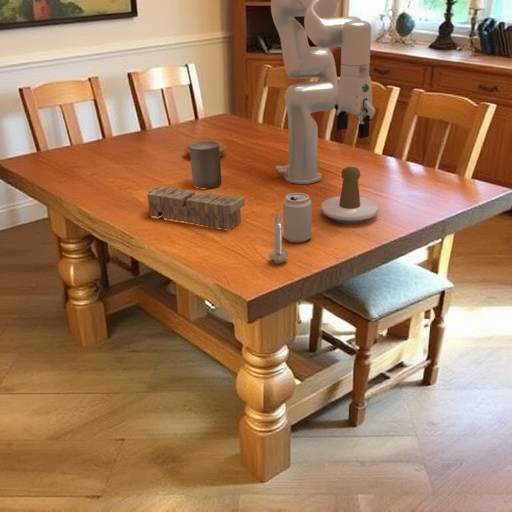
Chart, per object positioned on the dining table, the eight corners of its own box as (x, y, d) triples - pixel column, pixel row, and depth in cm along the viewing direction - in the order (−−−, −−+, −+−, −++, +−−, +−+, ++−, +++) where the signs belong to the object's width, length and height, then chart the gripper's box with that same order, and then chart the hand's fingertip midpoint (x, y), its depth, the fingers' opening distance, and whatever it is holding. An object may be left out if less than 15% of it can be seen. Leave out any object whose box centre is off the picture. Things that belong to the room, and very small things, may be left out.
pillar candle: (226, 181, 227) (224, 137, 220) (213, 191, 219) (209, 145, 212) (201, 179, 231) (198, 135, 224) (187, 188, 223) (183, 143, 216)
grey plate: (319, 226, 189) (319, 214, 188) (323, 205, 204) (324, 194, 202) (377, 228, 187) (377, 216, 185) (378, 207, 201) (378, 196, 199)
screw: (292, 260, 169) (279, 267, 166) (277, 255, 172) (264, 262, 169) (291, 212, 164) (278, 218, 161) (276, 208, 167) (263, 213, 164)
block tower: (146, 220, 200) (233, 232, 188) (142, 193, 197) (230, 204, 184) (161, 211, 207) (246, 222, 194) (158, 185, 203) (244, 194, 190)
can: (282, 233, 185) (281, 192, 180) (309, 232, 186) (309, 190, 181) (285, 244, 179) (284, 201, 174) (313, 243, 179) (313, 200, 174)
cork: (361, 201, 196) (362, 165, 191) (359, 209, 190) (360, 171, 186) (340, 200, 197) (341, 164, 192) (337, 208, 192) (338, 170, 187)
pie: (235, 154, 257) (234, 141, 255) (211, 165, 245) (210, 151, 243) (202, 148, 264) (201, 136, 262) (177, 159, 252) (176, 146, 250)
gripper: (387, 73, 174) (383, 138, 182) (346, 63, 188) (344, 124, 195) (363, 77, 171) (360, 143, 179) (324, 66, 185) (323, 128, 192)
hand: (352, 133), depth 187 cm, fingers open, 9 cm apart
